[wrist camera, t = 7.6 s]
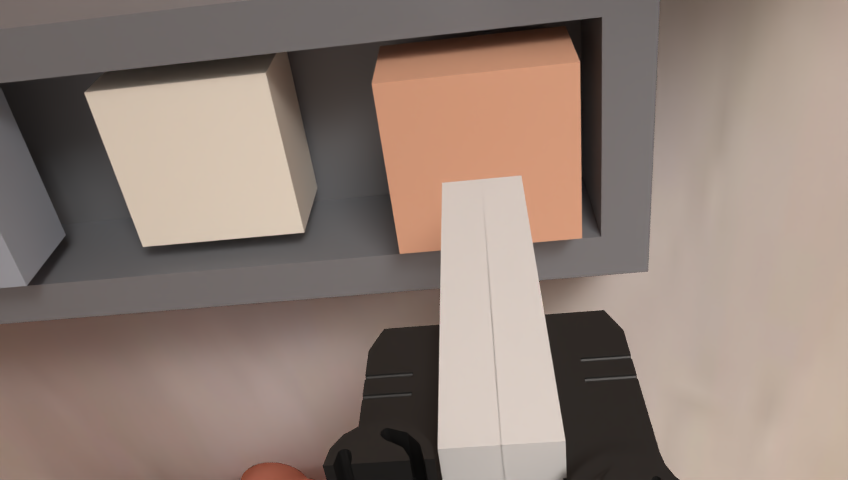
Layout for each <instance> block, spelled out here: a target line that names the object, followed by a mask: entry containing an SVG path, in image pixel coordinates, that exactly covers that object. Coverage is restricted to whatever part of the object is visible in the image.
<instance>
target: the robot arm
mask: <svg viewBox="0 0 848 480" xmlns="http://www.w3.org/2000/svg"><path fill="white" fill-rule="evenodd" d="M323 468H324V472H325V475H326V479H327V480H679V479H678V478H676V477H675V476H674V475H673V473H672V472H671V471H670V470H669V469H668V467H667V466H666V465H665V463H664V461H663V459H662V456H661V454H660V452H659V449H658V445H657V442H656V439H655V435H654V432H653V428H652V425H651V422H650V418H649V415H648V412H647V408H646V405H645V401H644V398H643V395H642V391H641V388H640V385H639V381H638V379H637V376H636V371H635V368H634V364H633V361H632V359H631V354H630V351H629V347H628V344H627V341H626V337H625V334H624V331H623V329H622V328H621V327H620V326H619V325H618V324H617V323H616V322H615V321H614V320H613V319H612V318H611V317H610V316H609V315H608V314H607V313H606V312H605V311H604V310H600V311H587V312H574V313H561V314H548V315H545V314H544V308H543V302H542V296H541V290H540V284H539V278H538V272H537V266H536V260H535V254H534V248H533V242H532V236H531V230H530V224H529V218H528V212H527V206H526V200H525V194H524V188H523V182H522V176H510V177H499V178H488V179H477V180H467V181H456V182H445V183H442V218H441V277H440V325H430V326H417V327H404V328H391V329H384V330H383V331H382V333H381V334H380V336H379V337H378V339H377V340H376V341H375V343H374V344H373V346H372V347H371V349H370V350H369V353H368V360H367V368H366V380H365V383H364V390H363V400H362V406H361V413H360V421H359V427H357V428H355V429H353V430H352V431H350V432H348V433H346V434H344V435H343V436H342V437H341V438H340V439H339V440H338V441H337V442H336V443H335V444H334V445H333V446H332V447H331V448H330V450H329V452H328V455H327V457H326V459H325V462H324V464H323Z"/></svg>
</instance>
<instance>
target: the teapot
mask: <svg viewBox="0 0 848 480" xmlns="http://www.w3.org/2000/svg"><path fill="white" fill-rule="evenodd" d="M241 480H314V479H307V478H306V476H305V475H304V474H303V473H301V472H300V471H299V470H297V469H295V468H294V467H291V466H288V465H285V464H281V463H262V464H258V465H255V466H252V467H251V468H249V469H248V470H247V471H245V472H244V474H243V476H242V478H241Z"/></svg>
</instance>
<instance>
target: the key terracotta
mask: <svg viewBox="0 0 848 480" xmlns="http://www.w3.org/2000/svg"><path fill="white" fill-rule="evenodd" d="M372 89H373V95H374V101H375V107H376V113H377V119H378V125H379V131H380V137H381V144H382V150H383V156H384V162H385V168H386V174H387V180H388V186H389V192H390V198H391V204H392V210H393V216H394V222H395V228H396V234H397V240H398V246H399V252H400V254H405V253H417V252H429V251H440V250H441V218H442V183H445V182H456V181H467V180H477V179H488V178H499V177H510V176H522V182H523V188H524V194H525V200H526V206H527V212H528V218H529V224H530V230H531V236H532V242H533V243H534V242H546V241H557V240H569V239H581V238H582V181H581V95H580V60H579V58H578V55H577V53H576V50H575V48H574V46H573V43H572V41H571V38H570V36H569V33H568V31H567V28H566V26H559V27H550V28H541V29H532V30H523V31H513V32H504V33H495V34H486V35H477V36H468V37H459V38H449V39H440V40H431V41H422V42H413V43H404V44H395V45H386V46H380V48H379V53H378V57H377V62H376V66H375V71H374V75H373V80H372Z"/></svg>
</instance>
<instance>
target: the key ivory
mask: <svg viewBox="0 0 848 480" xmlns="http://www.w3.org/2000/svg"><path fill="white" fill-rule="evenodd" d="M84 94H85V96H86V99H87V102H88V104H89V107H90V109H91V112H92V115H93V117H94V120H95V123H96V125H97V128H98V130H99V133H100V136H101V138H102V141H103V144H104V146H105V149H106V151H107V154H108V157H109V159H110V162H111V165H112V167H113V170H114V172H115V175H116V178H117V180H118V183H119V186H120V188H121V191H122V193H123V196H124V199H125V201H126V204H127V207H128V209H129V212H130V214H131V217H132V220H133V222H134V225H135V228H136V230H137V233H138V235H139V238H140V241H141V243H142V246H143V247H149V246H160V245H171V244H182V243H194V242H205V241H216V240H228V239H239V238H250V237H261V236H273V235H284V234H295V233H304V232H305V229H306V225H307V222H308V218H309V215H310V212H311V208H312V205H313V201H314V198H315V194H316V191H317V184H316V179H315V175H314V170H313V166H312V161H311V157H310V152H309V148H308V144H307V139H306V135H305V130H304V126H303V121H302V117H301V112H300V108H299V103H298V99H297V94H296V90H295V85H294V81H293V76H292V72H291V67H290V63H289V58H288V54H287V52H280V53H271V54H262V55H253V56H244V57H234V58H225V59H216V60H207V61H198V62H189V63H180V64H171V65H162V66H153V67H144V68H134V69H125V70H116V71H107V72H105V73H104V74H103V75H102V76H101V77H99V78H98V79H97V80H96V81H95V82H94V83H93V84H92V85H91V86H90V87H89V88H88V89H87V90H86V91H85V92H84Z"/></svg>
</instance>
